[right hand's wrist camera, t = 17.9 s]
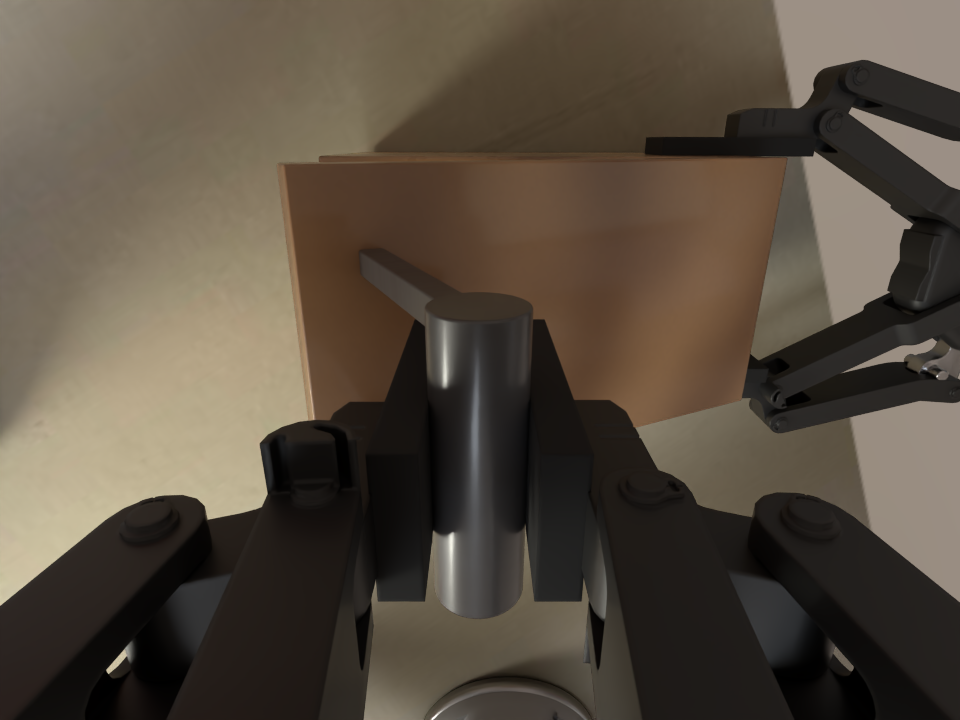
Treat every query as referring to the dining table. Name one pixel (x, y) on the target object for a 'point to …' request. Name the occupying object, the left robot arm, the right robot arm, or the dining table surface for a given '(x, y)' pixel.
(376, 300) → the lid
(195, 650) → the right robot arm
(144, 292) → the dining table surface
